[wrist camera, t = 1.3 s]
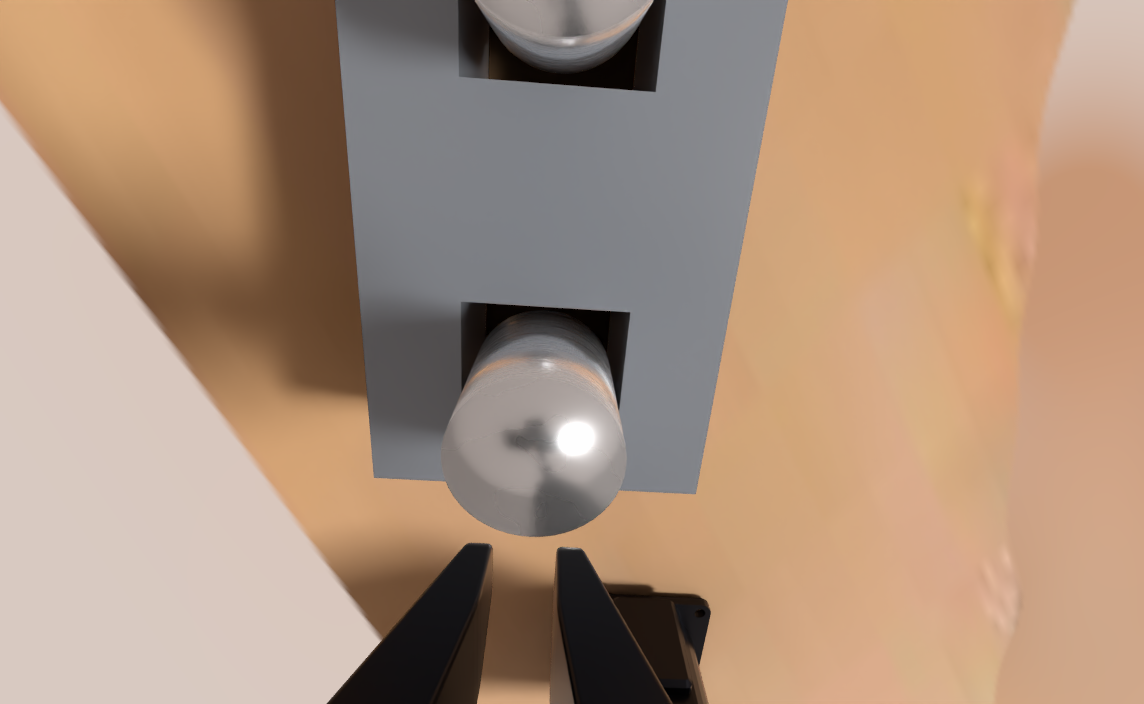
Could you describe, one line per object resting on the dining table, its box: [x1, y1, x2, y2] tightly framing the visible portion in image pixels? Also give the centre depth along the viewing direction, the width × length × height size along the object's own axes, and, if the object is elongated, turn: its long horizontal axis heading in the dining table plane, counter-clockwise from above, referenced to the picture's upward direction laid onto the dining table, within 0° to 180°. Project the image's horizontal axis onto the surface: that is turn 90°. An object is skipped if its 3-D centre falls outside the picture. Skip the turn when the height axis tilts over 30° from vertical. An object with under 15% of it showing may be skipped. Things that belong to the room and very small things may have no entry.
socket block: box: [335, 0, 788, 494], centre depth 16 cm, size 17×10×5 cm, turn 176°
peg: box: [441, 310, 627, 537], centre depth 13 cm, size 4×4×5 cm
